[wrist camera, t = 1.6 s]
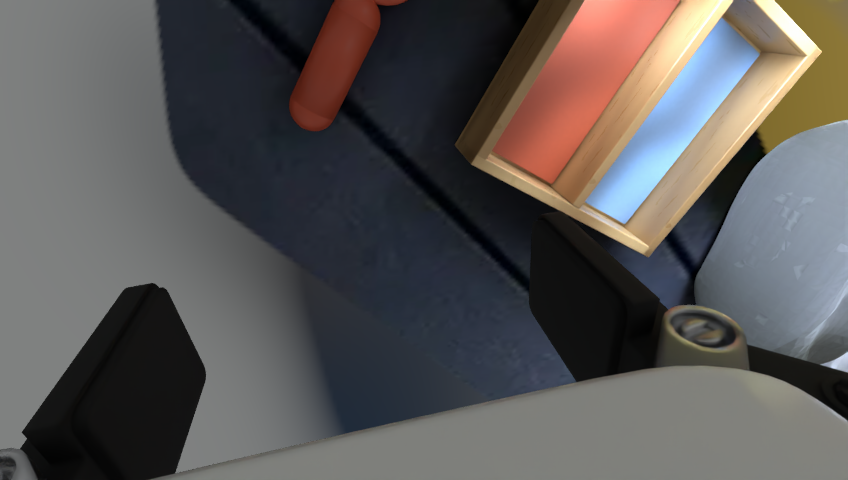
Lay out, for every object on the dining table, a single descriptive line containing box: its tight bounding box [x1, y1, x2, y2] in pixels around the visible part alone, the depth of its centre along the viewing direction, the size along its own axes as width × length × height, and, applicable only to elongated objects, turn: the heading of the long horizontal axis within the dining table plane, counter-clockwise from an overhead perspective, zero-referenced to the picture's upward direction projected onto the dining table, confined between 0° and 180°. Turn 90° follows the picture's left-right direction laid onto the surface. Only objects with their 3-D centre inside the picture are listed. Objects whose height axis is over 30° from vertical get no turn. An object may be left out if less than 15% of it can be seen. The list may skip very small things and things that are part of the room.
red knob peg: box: [289, 0, 407, 131], centre depth 19 cm, size 10×4×2 cm, turn 149°
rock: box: [694, 120, 848, 365], centre depth 28 cm, size 18×11×8 cm, turn 168°
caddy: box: [455, 0, 821, 257], centre depth 23 cm, size 13×13×3 cm
